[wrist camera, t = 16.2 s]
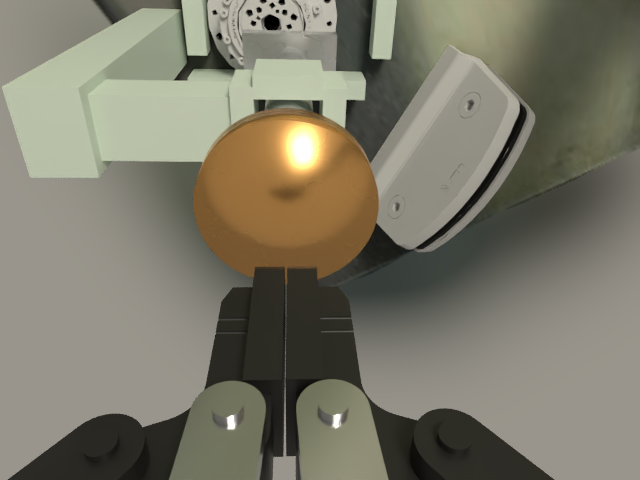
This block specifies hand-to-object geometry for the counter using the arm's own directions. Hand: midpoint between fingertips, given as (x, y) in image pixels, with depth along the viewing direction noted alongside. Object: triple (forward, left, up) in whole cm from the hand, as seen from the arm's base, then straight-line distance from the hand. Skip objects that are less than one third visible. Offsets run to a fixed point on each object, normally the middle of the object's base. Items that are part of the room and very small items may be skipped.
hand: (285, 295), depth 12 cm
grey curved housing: (-13, +9, -33) cm, 37 cm away
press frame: (+2, -3, -33) cm, 33 cm away
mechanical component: (+1, -2, -33) cm, 33 cm away
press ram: (0, 0, -25) cm, 25 cm away
